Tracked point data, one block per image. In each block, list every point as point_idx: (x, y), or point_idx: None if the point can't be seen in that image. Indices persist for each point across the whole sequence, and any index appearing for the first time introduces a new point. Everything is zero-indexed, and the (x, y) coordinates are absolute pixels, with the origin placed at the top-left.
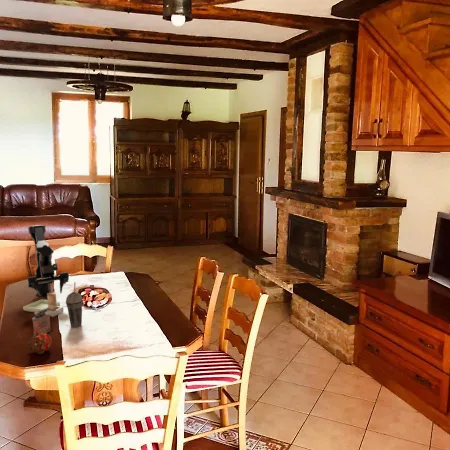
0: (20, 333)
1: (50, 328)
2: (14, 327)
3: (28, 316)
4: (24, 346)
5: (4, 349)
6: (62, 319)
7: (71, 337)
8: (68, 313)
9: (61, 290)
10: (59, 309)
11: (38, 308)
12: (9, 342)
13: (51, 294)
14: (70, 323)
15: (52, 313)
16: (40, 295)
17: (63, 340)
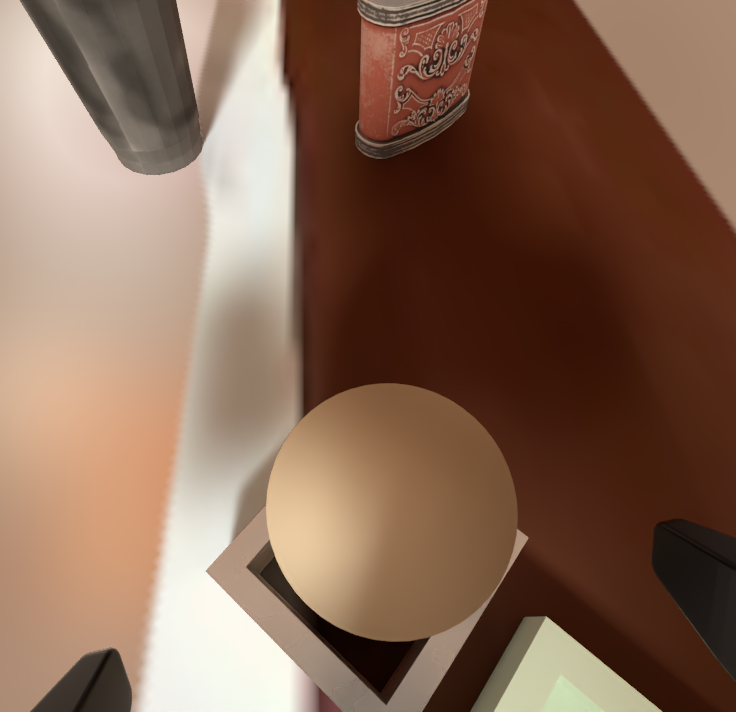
0: (572, 149)
1: (357, 122)
2: (680, 265)
3: None
4: None
5: (579, 7)
6: (257, 318)
7: (222, 24)
8: (177, 11)
9: (44, 707)
10: None
11: (621, 707)
12: (590, 61)
13: (380, 399)
14: (196, 105)
15: None
16: (680, 519)
17: (272, 8)
